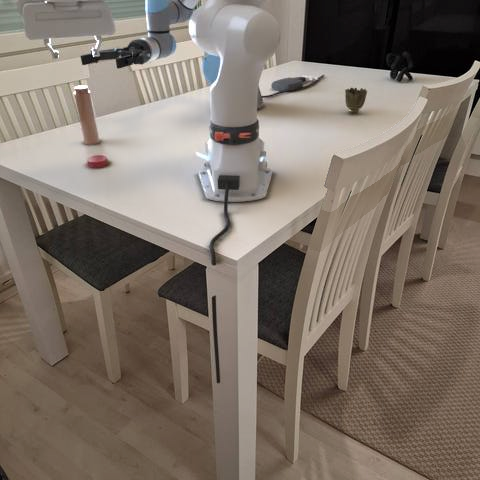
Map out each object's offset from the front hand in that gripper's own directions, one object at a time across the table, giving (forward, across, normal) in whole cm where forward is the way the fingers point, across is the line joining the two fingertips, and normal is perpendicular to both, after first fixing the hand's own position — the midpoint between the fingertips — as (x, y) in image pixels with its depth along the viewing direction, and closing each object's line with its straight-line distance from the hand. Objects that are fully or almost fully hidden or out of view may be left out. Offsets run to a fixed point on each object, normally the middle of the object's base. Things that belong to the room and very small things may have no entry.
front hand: (76, 57), depth 108 cm
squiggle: (+28, +136, +51) cm, 148 cm away
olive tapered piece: (+27, +90, +14) cm, 95 cm away
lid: (+26, 0, 0) cm, 26 cm away
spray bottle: (+28, +89, +60) cm, 111 cm away
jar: (+28, 0, +19) cm, 33 cm away
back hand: (+6, +6, +26) cm, 27 cm away
